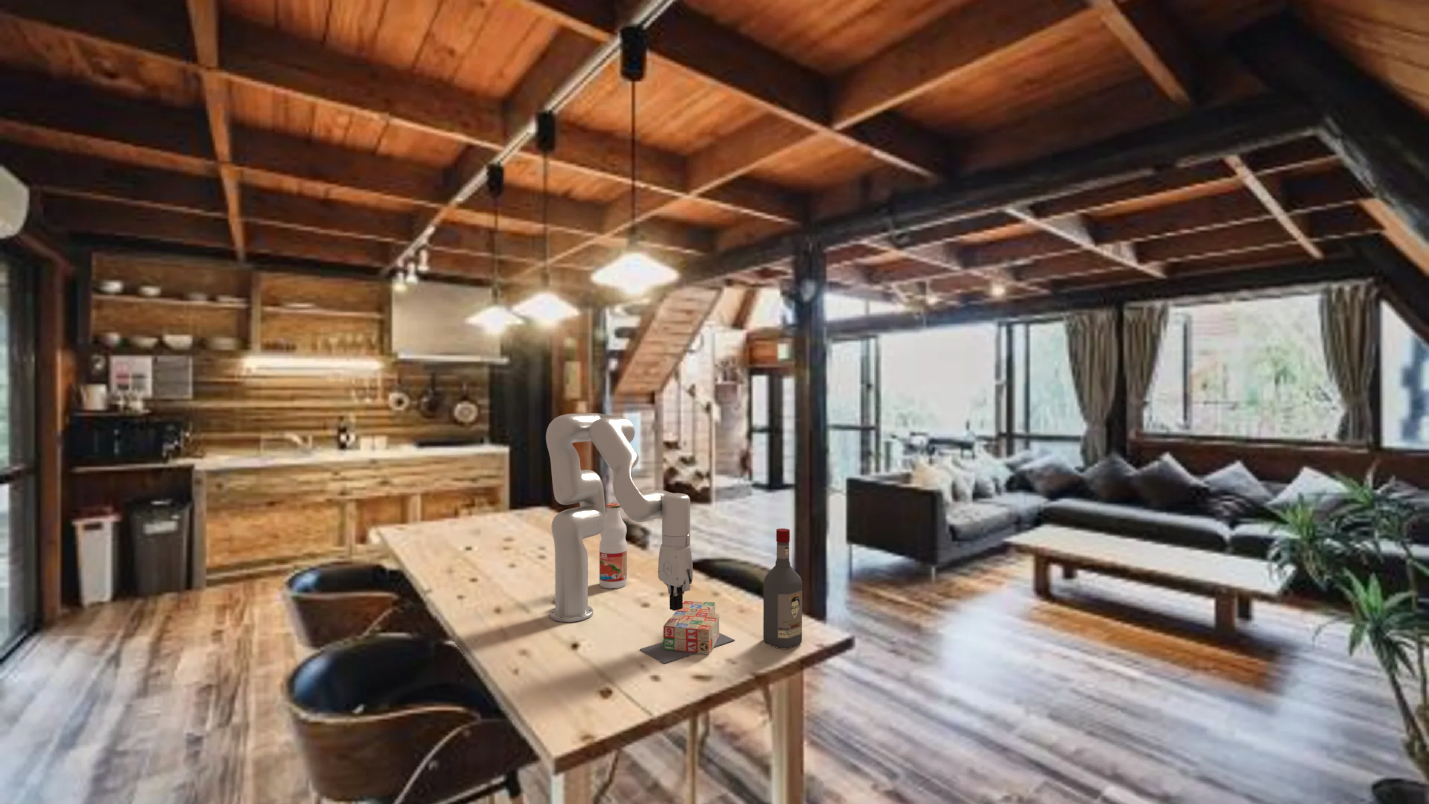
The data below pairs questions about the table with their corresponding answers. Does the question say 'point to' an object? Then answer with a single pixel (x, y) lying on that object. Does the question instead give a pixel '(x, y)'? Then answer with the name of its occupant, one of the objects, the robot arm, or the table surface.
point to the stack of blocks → (692, 628)
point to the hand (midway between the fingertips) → (676, 609)
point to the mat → (670, 655)
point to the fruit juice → (613, 550)
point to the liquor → (782, 599)
